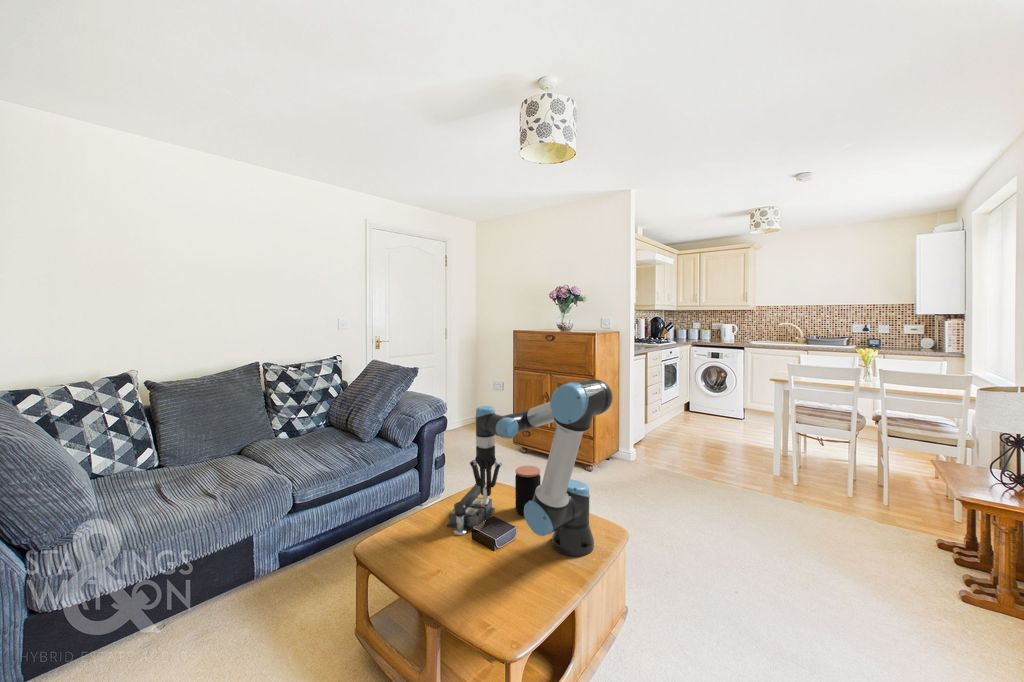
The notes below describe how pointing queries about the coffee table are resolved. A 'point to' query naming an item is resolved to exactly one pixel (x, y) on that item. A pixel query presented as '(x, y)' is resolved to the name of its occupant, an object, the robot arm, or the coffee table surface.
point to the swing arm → (466, 501)
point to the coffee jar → (525, 486)
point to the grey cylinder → (460, 526)
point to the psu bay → (473, 514)
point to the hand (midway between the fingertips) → (486, 502)
